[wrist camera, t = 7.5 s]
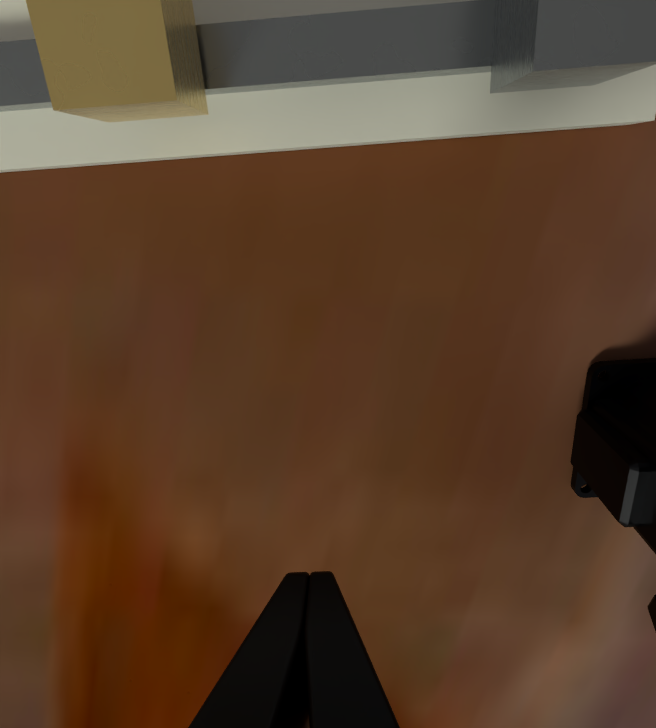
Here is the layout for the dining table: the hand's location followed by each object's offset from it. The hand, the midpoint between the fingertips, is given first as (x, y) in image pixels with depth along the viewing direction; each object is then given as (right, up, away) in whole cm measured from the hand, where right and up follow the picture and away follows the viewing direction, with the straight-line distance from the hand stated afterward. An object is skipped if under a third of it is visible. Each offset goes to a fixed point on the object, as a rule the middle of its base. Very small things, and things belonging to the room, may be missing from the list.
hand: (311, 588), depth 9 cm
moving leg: (-5, +15, +5) cm, 17 cm away
